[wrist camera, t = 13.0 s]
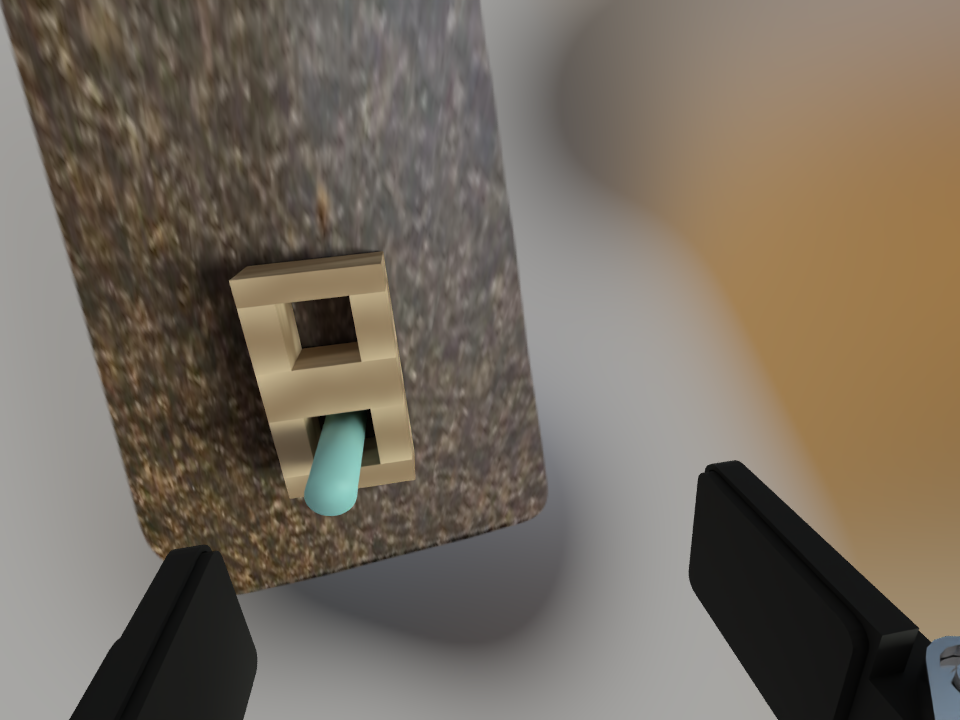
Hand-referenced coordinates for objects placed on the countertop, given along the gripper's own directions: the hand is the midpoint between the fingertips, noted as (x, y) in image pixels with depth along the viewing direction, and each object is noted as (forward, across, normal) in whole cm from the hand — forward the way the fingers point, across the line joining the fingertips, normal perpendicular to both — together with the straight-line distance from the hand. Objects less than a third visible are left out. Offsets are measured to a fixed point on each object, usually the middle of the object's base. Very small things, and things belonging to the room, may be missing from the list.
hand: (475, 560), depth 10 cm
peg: (+28, +7, +11) cm, 31 cm away
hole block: (+28, +7, +7) cm, 30 cm away
